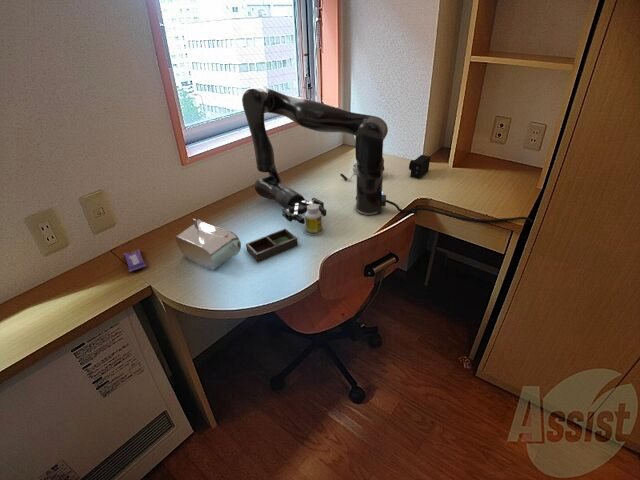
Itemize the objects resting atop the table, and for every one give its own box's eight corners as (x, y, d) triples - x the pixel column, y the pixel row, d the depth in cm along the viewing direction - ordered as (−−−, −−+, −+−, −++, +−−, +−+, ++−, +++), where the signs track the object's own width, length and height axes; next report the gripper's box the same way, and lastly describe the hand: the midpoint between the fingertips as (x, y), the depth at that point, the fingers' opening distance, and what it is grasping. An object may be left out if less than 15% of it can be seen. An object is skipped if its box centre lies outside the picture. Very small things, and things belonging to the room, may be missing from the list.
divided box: (297, 245, 116) (297, 238, 114) (257, 262, 109) (256, 254, 107) (285, 235, 121) (285, 228, 119) (246, 251, 114) (245, 243, 113)
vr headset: (244, 256, 112) (236, 216, 104) (216, 275, 105) (205, 234, 97) (206, 239, 121) (196, 201, 113) (177, 256, 114) (165, 216, 106)
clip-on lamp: (352, 191, 154) (386, 173, 158) (350, 179, 149) (385, 161, 154) (338, 179, 162) (370, 163, 166) (335, 167, 158) (369, 151, 162)
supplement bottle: (320, 236, 120) (319, 210, 114) (304, 235, 121) (302, 209, 115) (323, 228, 124) (322, 203, 119) (308, 227, 125) (306, 202, 120)
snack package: (145, 263, 108) (127, 269, 106) (147, 268, 109) (130, 274, 107) (138, 245, 116) (122, 251, 114) (140, 250, 117) (124, 256, 115)
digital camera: (417, 168, 164) (418, 154, 160) (428, 171, 161) (430, 156, 158) (407, 176, 157) (409, 161, 153) (419, 179, 154) (421, 163, 151)
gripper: (271, 196, 124) (295, 214, 113) (305, 185, 131) (331, 201, 120) (273, 215, 129) (297, 234, 117) (306, 203, 135) (332, 220, 124)
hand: (314, 217), depth 119 cm, fingers open, 8 cm apart
